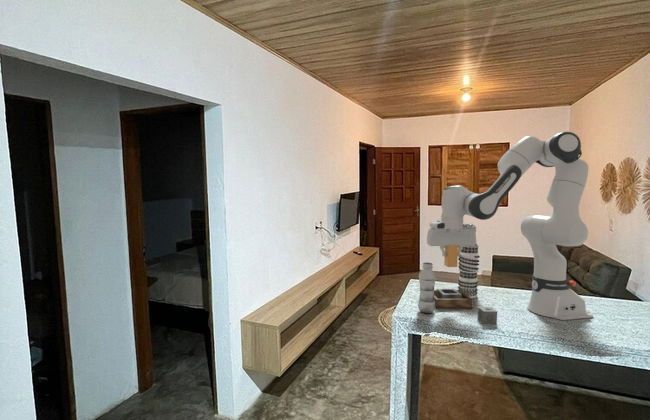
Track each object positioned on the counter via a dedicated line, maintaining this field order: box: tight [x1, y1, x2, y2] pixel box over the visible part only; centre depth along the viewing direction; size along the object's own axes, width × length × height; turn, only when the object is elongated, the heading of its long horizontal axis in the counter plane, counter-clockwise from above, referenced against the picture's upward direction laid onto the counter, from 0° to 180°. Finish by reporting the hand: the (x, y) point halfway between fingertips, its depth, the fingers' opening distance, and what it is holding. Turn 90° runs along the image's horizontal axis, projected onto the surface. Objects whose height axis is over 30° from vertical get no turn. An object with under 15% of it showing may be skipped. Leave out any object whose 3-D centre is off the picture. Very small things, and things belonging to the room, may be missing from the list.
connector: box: [443, 246, 459, 268], centre depth 150 cm, size 4×4×10 cm
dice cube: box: [477, 306, 498, 325], centre depth 134 cm, size 5×5×5 cm
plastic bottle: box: [417, 261, 437, 314], centre depth 143 cm, size 6×7×20 cm
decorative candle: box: [457, 242, 481, 299], centre depth 164 cm, size 9×9×25 cm
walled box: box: [434, 288, 473, 310], centre depth 153 cm, size 15×13×5 cm
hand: (450, 256), depth 150 cm, fingers closed on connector, 4 cm apart
